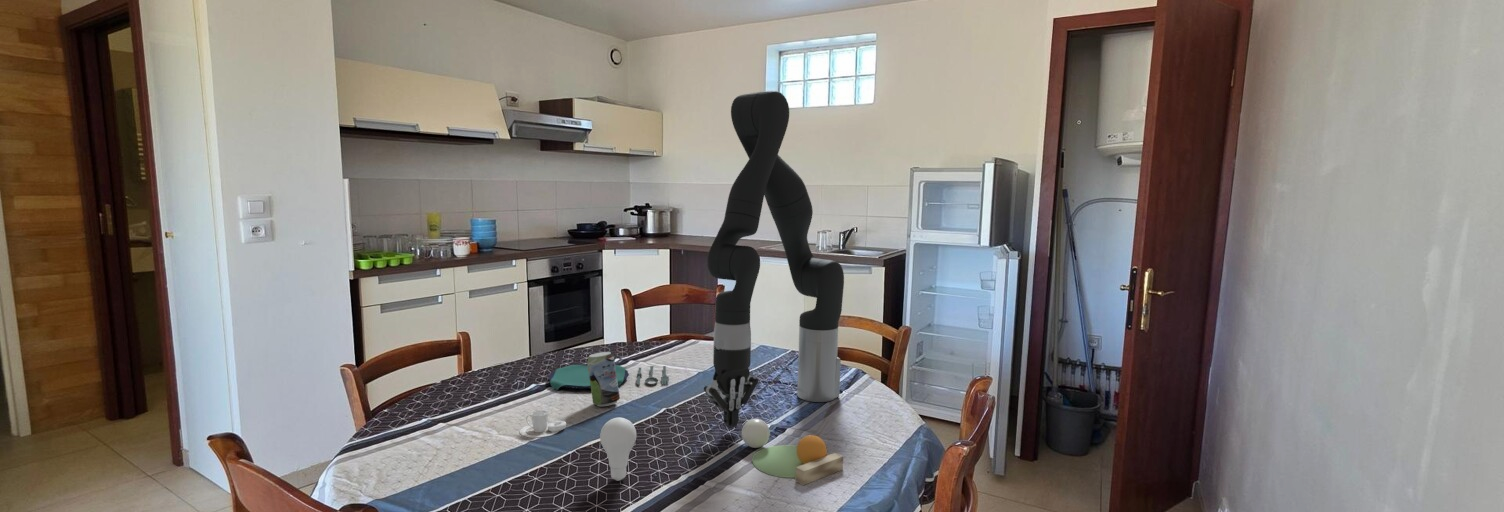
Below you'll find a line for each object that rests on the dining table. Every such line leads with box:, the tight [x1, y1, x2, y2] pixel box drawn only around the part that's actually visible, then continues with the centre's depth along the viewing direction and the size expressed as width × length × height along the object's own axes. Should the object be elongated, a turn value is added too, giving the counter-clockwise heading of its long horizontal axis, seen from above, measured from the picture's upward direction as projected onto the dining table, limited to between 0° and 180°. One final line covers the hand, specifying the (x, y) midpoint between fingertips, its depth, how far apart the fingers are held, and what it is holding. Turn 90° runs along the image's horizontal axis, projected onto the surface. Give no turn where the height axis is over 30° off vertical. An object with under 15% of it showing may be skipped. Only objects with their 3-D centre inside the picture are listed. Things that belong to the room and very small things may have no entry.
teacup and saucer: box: [519, 410, 567, 439], centre depth 139 cm, size 9×8×4 cm
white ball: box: [741, 418, 771, 449], centre depth 132 cm, size 6×6×6 cm
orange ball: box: [796, 434, 828, 464], centre depth 125 cm, size 6×6×6 cm
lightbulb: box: [599, 416, 637, 482], centre depth 117 cm, size 6×6×11 cm
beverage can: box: [586, 351, 620, 408], centre depth 154 cm, size 6×7×12 cm
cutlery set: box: [548, 363, 670, 391], centre depth 173 cm, size 20×30×2 cm, turn 98°
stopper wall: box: [795, 452, 844, 486], centre depth 120 cm, size 10×2×2 cm, turn 131°
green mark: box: [752, 444, 804, 479], centre depth 126 cm, size 14×14×1 cm
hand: (730, 426), depth 139 cm, fingers closed
